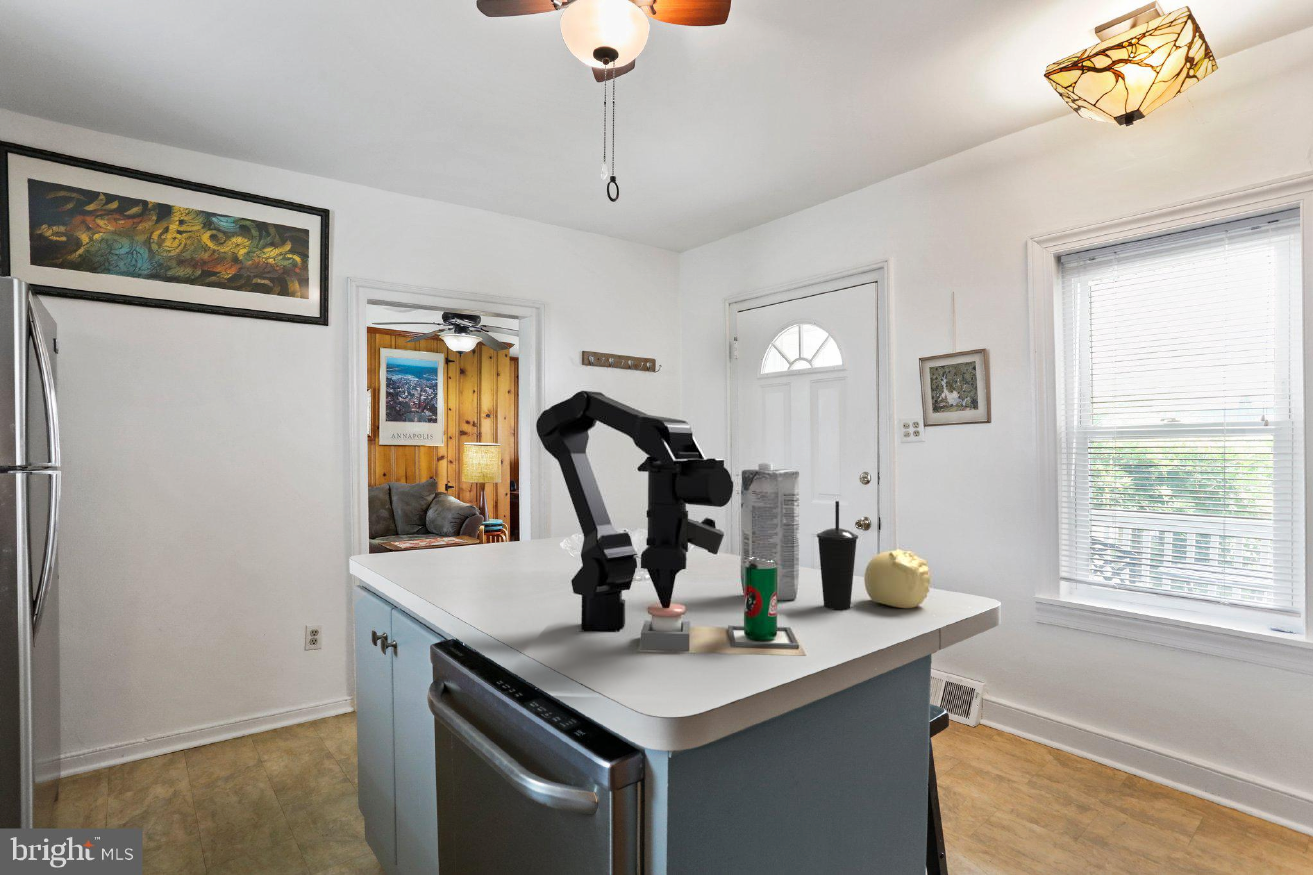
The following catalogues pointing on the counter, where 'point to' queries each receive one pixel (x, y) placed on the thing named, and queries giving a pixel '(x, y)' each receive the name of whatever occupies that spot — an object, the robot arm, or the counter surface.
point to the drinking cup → (837, 564)
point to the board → (739, 642)
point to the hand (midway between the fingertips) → (666, 607)
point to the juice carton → (772, 523)
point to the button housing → (665, 638)
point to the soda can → (760, 599)
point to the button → (666, 617)
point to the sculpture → (897, 579)
